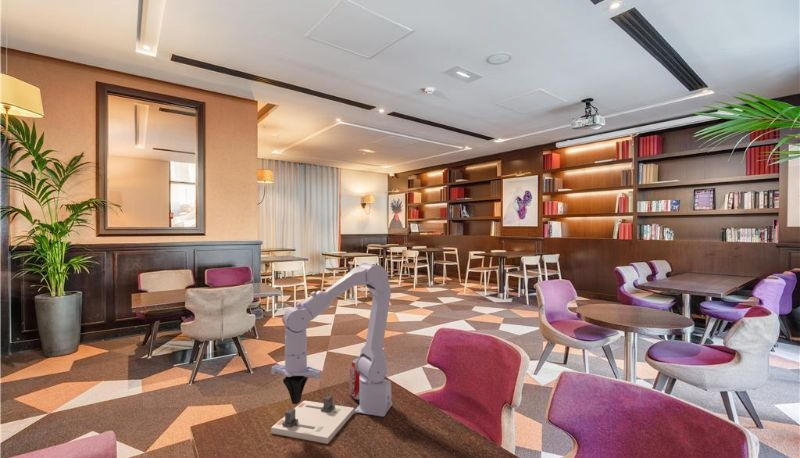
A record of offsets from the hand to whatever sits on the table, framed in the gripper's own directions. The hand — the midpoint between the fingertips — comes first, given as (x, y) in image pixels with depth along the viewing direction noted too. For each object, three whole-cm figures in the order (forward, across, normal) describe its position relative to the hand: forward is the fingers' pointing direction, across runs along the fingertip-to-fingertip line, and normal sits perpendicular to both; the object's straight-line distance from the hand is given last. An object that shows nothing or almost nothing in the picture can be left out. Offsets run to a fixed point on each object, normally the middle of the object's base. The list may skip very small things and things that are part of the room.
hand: (296, 402), depth 95 cm
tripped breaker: (+6, -2, 0) cm, 6 cm away
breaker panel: (+8, +3, +5) cm, 9 cm away
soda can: (+8, +9, +23) cm, 26 cm away
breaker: (+6, +4, +10) cm, 12 cm away
